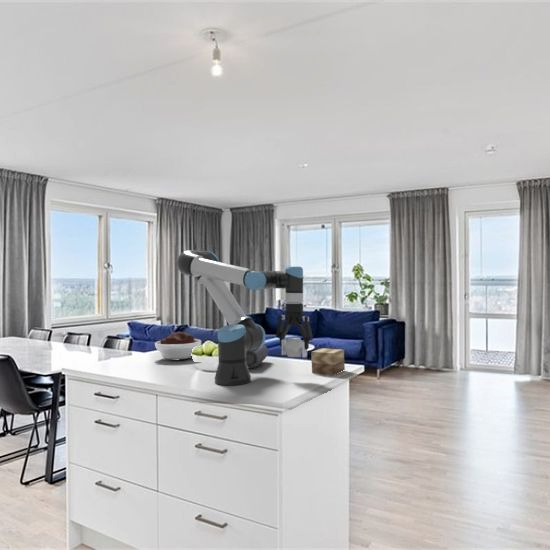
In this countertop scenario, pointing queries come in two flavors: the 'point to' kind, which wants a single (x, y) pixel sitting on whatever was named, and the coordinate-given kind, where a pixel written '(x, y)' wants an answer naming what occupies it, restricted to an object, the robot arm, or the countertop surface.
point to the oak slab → (327, 356)
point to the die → (293, 347)
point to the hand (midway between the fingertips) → (294, 355)
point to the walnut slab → (328, 368)
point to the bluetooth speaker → (256, 357)
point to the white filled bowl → (177, 346)
